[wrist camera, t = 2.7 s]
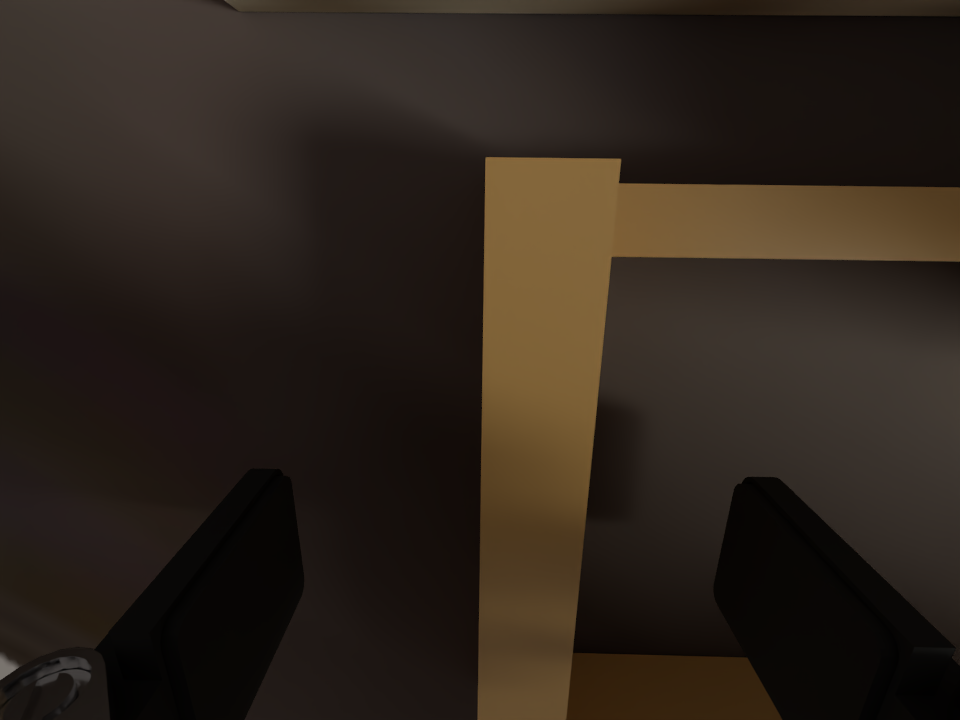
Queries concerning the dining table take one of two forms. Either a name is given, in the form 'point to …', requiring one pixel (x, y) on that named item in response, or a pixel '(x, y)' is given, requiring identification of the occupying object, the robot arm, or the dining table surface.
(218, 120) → the dining table surface
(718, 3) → the white block cluster
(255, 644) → the robot arm
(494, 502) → the tan u-shaped bracket
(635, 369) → the dining table surface
